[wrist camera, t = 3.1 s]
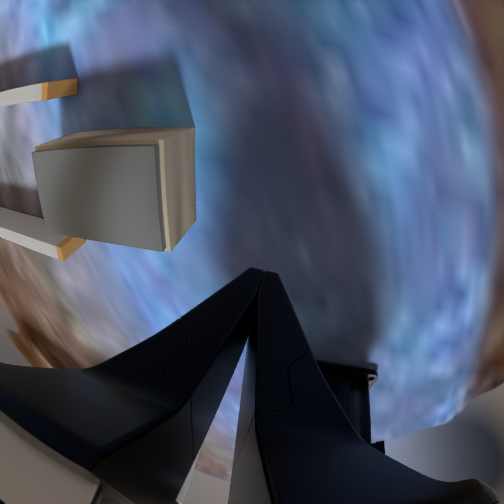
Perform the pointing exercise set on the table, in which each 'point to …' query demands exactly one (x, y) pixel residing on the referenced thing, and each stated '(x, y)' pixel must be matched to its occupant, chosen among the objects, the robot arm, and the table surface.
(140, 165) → the grey beige block
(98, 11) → the table surface
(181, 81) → the table surface
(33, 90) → the frame
